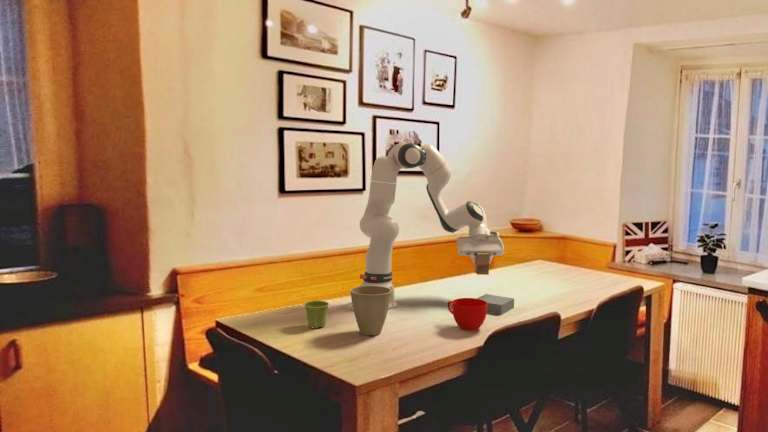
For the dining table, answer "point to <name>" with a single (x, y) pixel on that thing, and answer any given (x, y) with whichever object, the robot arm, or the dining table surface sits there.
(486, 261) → the walnut post
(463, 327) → the ceramic cup
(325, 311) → the plant pot
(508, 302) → the charcoal plinth
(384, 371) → the dining table surface
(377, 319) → the plant pot
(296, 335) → the dining table surface
